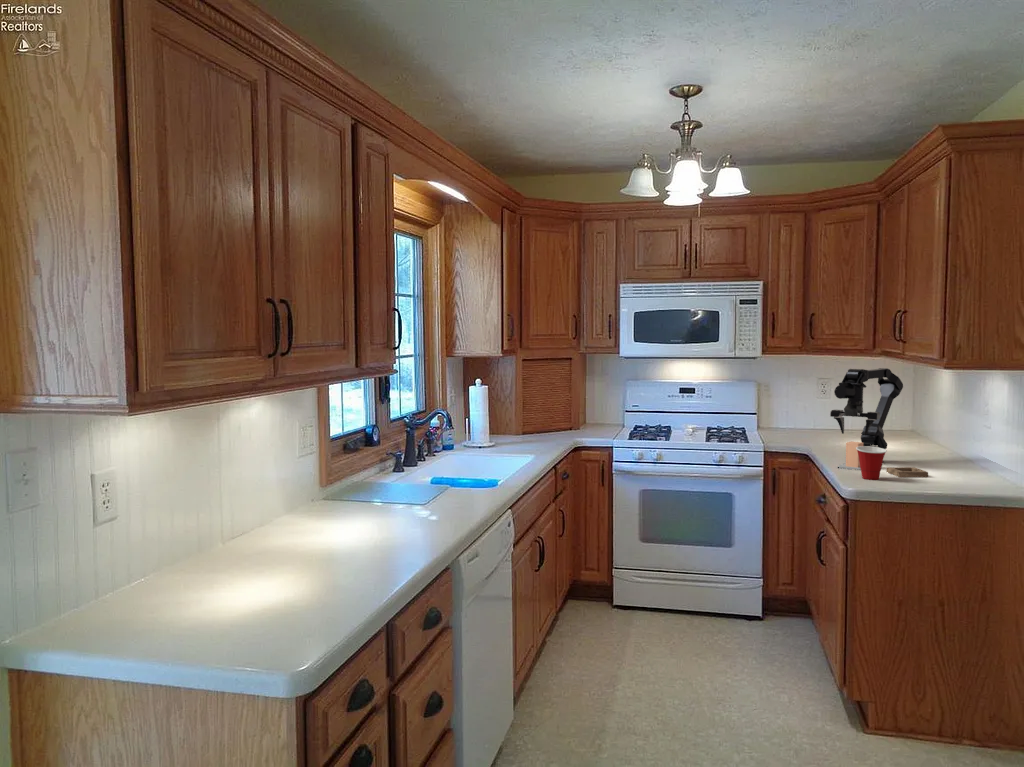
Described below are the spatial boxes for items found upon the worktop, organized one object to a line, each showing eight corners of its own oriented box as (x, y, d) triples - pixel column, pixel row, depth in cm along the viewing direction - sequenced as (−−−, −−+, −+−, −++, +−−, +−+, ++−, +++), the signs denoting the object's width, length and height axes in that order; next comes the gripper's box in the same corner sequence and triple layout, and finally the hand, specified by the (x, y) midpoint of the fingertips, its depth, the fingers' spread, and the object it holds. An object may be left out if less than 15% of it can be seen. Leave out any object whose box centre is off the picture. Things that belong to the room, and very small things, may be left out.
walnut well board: (886, 472, 301) (886, 467, 301) (914, 472, 300) (914, 467, 300) (899, 477, 290) (899, 472, 290) (928, 477, 289) (928, 472, 289)
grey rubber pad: (844, 464, 320) (844, 463, 320) (872, 467, 313) (872, 465, 313) (836, 468, 312) (836, 466, 312) (864, 470, 305) (864, 469, 305)
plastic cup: (869, 482, 281) (869, 450, 281) (849, 477, 292) (849, 446, 291) (893, 480, 284) (893, 449, 283) (872, 475, 295) (872, 445, 294)
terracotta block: (851, 464, 316) (851, 441, 315) (863, 466, 312) (863, 442, 312) (845, 466, 313) (846, 442, 312) (857, 467, 309) (858, 443, 308)
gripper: (826, 397, 316) (825, 434, 317) (874, 400, 305) (872, 438, 305) (834, 396, 325) (833, 432, 326) (881, 399, 313) (879, 435, 314)
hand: (854, 434), depth 317 cm, fingers open, 9 cm apart
